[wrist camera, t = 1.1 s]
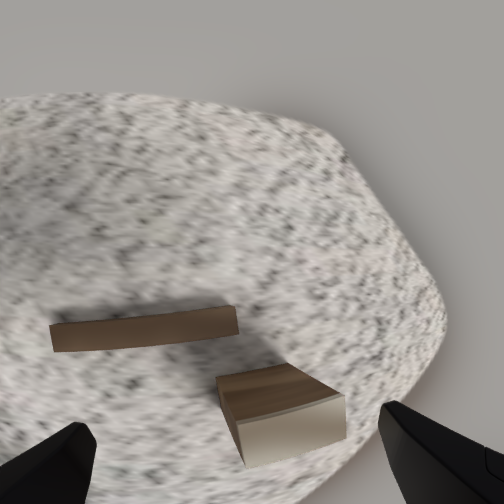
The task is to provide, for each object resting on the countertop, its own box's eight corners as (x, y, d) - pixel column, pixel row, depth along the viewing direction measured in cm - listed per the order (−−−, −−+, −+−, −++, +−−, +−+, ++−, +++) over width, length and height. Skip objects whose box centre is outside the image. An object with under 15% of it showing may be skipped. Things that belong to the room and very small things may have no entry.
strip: (234, 330, 22) (239, 334, 20) (63, 347, 18) (53, 352, 17) (230, 305, 22) (235, 306, 20) (59, 323, 19) (49, 325, 17)
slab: (291, 394, 22) (346, 438, 14) (221, 410, 21) (246, 469, 12) (287, 362, 23) (344, 395, 14) (215, 377, 21) (237, 425, 12)
